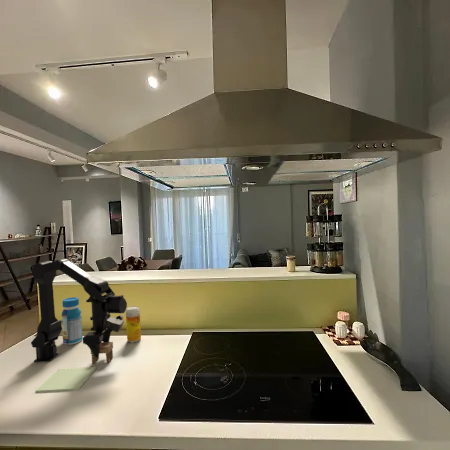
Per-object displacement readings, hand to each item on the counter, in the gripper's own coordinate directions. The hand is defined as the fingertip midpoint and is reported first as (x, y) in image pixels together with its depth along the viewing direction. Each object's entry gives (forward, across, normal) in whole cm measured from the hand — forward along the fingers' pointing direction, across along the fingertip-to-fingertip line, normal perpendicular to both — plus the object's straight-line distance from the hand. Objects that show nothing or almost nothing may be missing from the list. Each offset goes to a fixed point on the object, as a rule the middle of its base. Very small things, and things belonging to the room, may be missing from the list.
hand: (102, 351), depth 118 cm
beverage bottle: (+4, +21, +22) cm, 31 cm away
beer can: (+4, +19, -7) cm, 21 cm away
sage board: (+4, -13, +7) cm, 15 cm away
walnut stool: (+4, 0, 0) cm, 4 cm away
